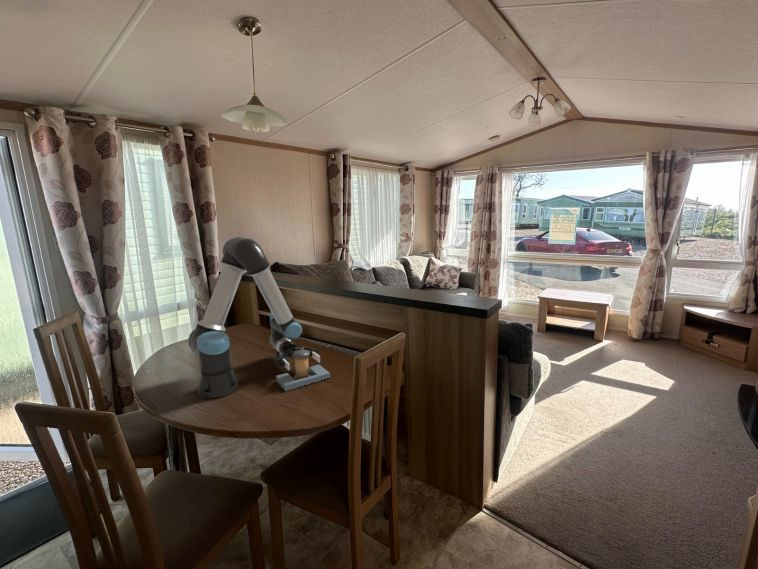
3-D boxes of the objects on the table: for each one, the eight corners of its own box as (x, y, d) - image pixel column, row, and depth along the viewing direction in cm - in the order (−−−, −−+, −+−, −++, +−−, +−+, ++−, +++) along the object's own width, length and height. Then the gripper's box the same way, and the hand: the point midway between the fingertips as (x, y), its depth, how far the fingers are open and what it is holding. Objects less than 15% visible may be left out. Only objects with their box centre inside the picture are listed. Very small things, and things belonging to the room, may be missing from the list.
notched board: (285, 391, 144) (285, 385, 144) (276, 381, 153) (276, 375, 153) (330, 378, 155) (329, 373, 155) (319, 369, 164) (319, 364, 163)
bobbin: (297, 384, 150) (296, 357, 148) (291, 378, 156) (290, 352, 154) (313, 379, 154) (312, 353, 152) (307, 373, 160) (305, 348, 157)
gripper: (311, 349, 175) (331, 364, 158) (260, 361, 162) (276, 379, 144) (311, 335, 174) (330, 348, 157) (259, 346, 160) (274, 361, 143)
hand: (304, 363), depth 151 cm, fingers open, 13 cm apart
